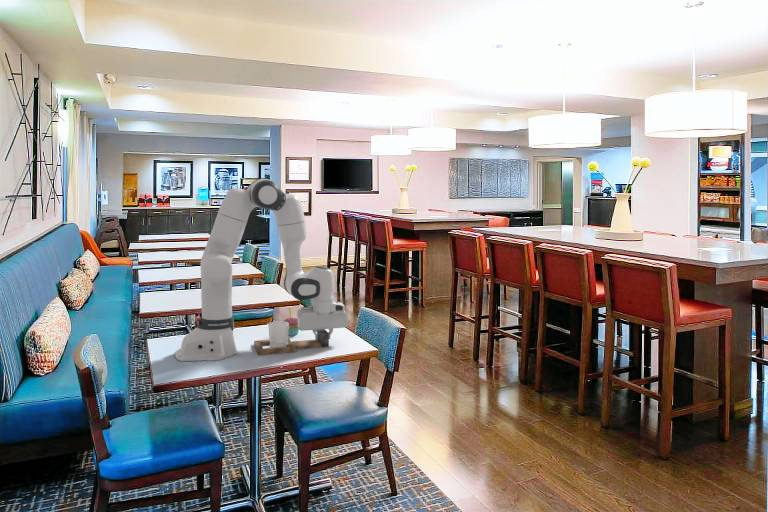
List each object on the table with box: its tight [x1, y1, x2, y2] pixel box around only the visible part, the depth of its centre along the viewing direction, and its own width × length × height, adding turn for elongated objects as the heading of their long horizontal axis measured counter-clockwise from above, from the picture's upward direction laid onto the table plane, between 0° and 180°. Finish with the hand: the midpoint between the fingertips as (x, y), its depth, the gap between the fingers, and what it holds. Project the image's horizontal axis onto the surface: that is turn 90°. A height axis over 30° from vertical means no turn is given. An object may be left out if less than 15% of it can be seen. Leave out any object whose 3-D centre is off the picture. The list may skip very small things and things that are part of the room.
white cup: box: [267, 320, 289, 349], centre depth 227 cm, size 8×8×10 cm
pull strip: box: [253, 329, 330, 356], centre depth 230 cm, size 28×14×6 cm, turn 109°
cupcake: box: [283, 305, 300, 337], centre depth 247 cm, size 9×8×12 cm
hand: (322, 339), depth 234 cm, fingers closed on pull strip, 3 cm apart
